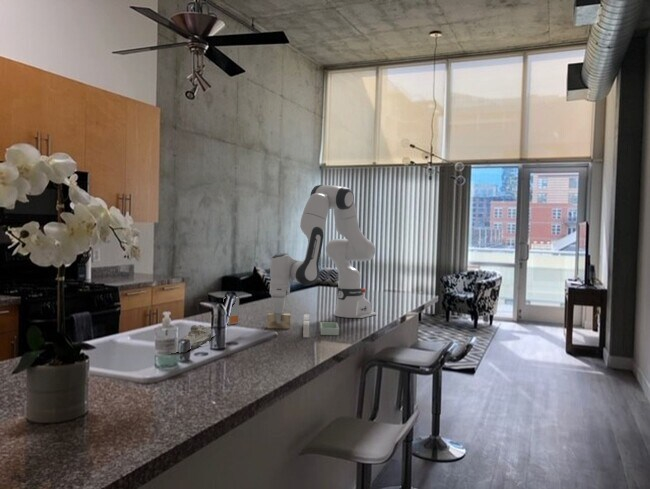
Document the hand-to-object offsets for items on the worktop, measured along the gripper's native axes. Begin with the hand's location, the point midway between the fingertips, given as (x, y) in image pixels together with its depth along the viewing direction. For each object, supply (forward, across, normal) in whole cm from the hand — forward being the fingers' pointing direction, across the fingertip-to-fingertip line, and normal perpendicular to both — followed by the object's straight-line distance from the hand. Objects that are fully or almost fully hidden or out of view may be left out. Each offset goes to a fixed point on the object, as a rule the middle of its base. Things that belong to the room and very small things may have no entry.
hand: (279, 321), depth 230 cm
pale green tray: (+3, +8, +22) cm, 23 cm away
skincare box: (+3, -6, -22) cm, 23 cm away
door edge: (+3, +7, +12) cm, 14 cm away
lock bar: (+3, 0, 0) cm, 3 cm away
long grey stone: (+3, +32, -30) cm, 44 cm away
